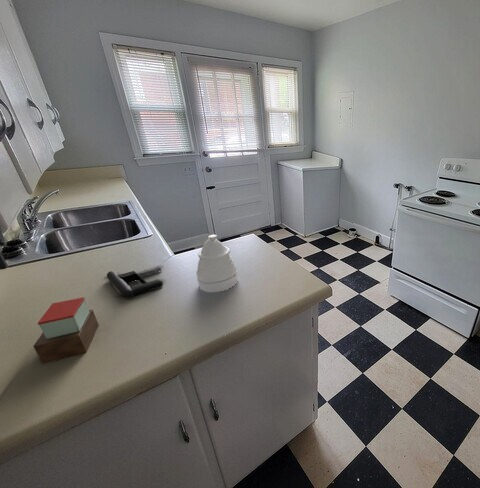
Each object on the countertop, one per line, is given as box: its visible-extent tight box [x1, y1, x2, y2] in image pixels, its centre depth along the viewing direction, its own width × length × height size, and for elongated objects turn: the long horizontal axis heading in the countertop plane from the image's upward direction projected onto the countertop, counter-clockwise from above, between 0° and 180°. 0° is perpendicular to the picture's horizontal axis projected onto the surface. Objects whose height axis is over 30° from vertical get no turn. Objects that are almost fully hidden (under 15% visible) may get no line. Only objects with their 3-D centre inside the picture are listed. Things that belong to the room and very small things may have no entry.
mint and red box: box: [37, 296, 90, 339], centre depth 65 cm, size 6×8×5 cm
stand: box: [33, 309, 100, 364], centre depth 66 cm, size 8×11×5 cm
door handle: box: [105, 265, 164, 299], centre depth 94 cm, size 3×20×16 cm
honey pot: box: [195, 234, 239, 293], centre depth 91 cm, size 13×13×18 cm
